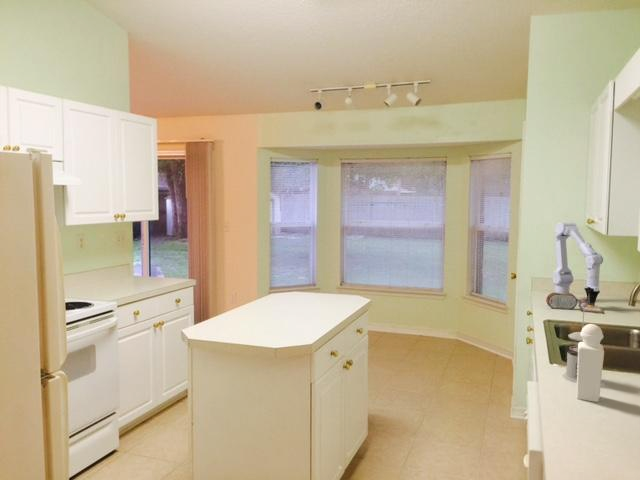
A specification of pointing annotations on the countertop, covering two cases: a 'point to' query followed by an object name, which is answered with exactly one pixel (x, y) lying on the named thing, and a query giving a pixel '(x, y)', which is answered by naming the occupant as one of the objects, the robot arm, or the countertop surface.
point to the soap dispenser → (590, 363)
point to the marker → (590, 303)
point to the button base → (582, 302)
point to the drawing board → (591, 309)
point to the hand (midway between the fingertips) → (591, 302)
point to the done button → (583, 299)
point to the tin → (561, 300)
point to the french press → (573, 359)
